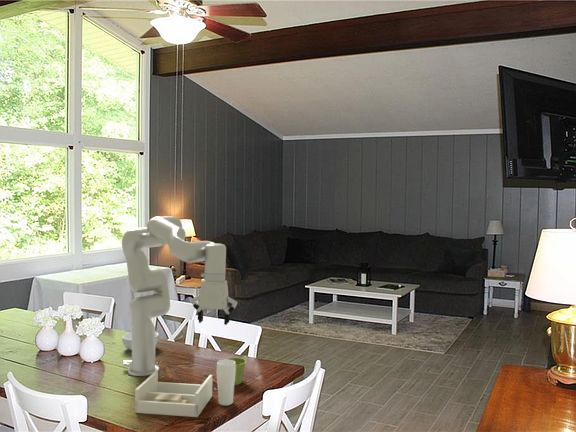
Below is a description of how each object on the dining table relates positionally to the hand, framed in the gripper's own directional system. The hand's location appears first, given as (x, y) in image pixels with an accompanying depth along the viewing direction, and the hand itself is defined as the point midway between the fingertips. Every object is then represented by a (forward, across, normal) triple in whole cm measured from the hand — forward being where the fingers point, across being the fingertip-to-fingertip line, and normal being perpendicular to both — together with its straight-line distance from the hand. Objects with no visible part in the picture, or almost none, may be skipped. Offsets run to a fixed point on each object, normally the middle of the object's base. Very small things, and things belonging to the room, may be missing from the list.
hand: (213, 322), depth 203 cm
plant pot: (+28, +6, +14) cm, 31 cm away
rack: (+27, -10, -10) cm, 31 cm away
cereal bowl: (+30, -48, +49) cm, 74 cm away
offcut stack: (+28, -11, -16) cm, 33 cm away
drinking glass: (+27, +7, -7) cm, 29 cm away
